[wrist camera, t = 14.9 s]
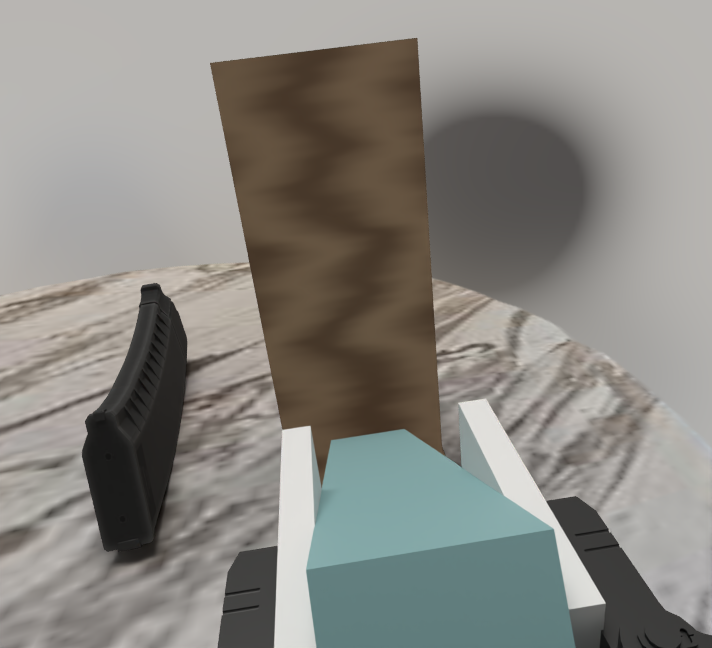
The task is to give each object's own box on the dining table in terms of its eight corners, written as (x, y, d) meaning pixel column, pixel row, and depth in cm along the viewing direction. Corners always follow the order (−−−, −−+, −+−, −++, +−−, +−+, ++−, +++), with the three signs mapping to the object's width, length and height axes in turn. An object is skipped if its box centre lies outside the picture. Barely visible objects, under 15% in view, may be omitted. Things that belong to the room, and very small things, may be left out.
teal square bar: (343, 845, 9) (305, 569, 9) (342, 516, 30) (331, 440, 31) (603, 796, 9) (554, 528, 9) (416, 504, 31) (404, 429, 31)
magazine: (114, 474, 34) (148, 219, 56) (56, 486, 33) (114, 225, 56) (186, 601, 45) (191, 347, 67) (144, 611, 45) (163, 352, 67)
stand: (289, 550, 39) (185, 65, 26) (290, 431, 51) (221, 66, 39) (463, 522, 39) (442, 34, 27) (422, 411, 52) (394, 45, 40)
